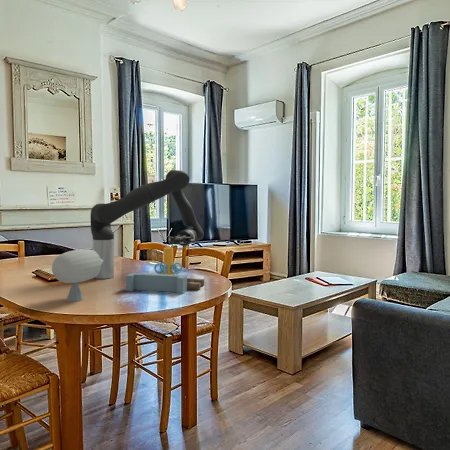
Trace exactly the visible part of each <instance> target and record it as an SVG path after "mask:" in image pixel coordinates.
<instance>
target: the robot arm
mask: <svg viewBox="0 0 450 450" xmlns="http://www.w3.org/2000/svg"><path fill="white" fill-rule="evenodd" d="M190 179H191V178H190V175H189V174H188V173H187V172H186V171H183V170H178V169H177V170H173V169H172V170H169V171H168V172H166V175H165V178H164V179H162V180H157V181H154V182H149V183H146V184H143V185H141V186H138V187H136V188H134V189H132V190H131V191H130V192H128V193H126V194H125V196H122V197H121V198H119V199H117V200H114V201H112V202H111V201H110V202H108V203H96V204H94V205H93V206H92V208H91V210H90V231H91V236H92V250H94V251H95V252H96V253H97V254H98V255H99V257H100V258H101V259H102V260H103V262H102V264H101V270H100V273H99V274H98V275H97V276H96V277H94V278H93V279H99V280H100V279H101V280H102V279H111V278H114V277H115V234H114V231H113V230H112V226H111V224H112V223H114V222H116V221H117V220H118V219H120V218H122V217H123V216H125V215H126V214H128V213H131V212H134V211H136V210H139V209H142V208H143V207H145V206H148V205H149V204H152V203H154V202H155V201H157V200H159V199H162V198H163V197H165V196H167V195H169V194H171V195H172V197H173V199H174V201H175V203H176V205H177V208H178V211H179V214H180V217H181V220H182V223H183V225H184V226H185V227H192V228H187V229H184V230H181V231H179V232H178V233H177V234H176V235H175V236H168V242H169V243H172V244H175V245H179V246H181V247H187V246H189V245H191V244H192V243H195V242H196V241H201V240H203V239H204V237H205V232H204V230H203V228H202V227H201V225H200V224H199V222H198V220H197V218H196V214H195V211H194V208H193V206H192V205H191V203H190V201H189V200H188V199H187V197H186V195H185V193H184V190H183V189H185V188H186V187H187V186H189V183H190Z"/></svg>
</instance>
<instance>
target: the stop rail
mask: <svg viewBox="0 0 450 450" xmlns="http://www.w3.org/2000/svg"><path fill="white" fill-rule="evenodd" d="M187 278H188V275H184V274H183V275H182V274H175V275H167V274H161V273H147V272H146V273H140V272H131V273H129V274H126V275H125V292H133V291H135V290H137V291H152V292H153V291H155V292H157V291H158V292H174V293H175V292H176V295H177V294H178V295H184V294H185V293H186V292H187V291H188V290H187Z"/></svg>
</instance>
